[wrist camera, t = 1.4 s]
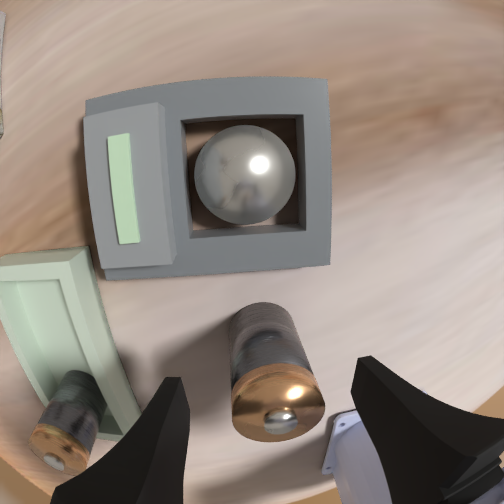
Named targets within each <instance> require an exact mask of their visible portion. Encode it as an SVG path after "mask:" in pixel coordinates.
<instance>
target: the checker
mask: <svg viewBox="0 0 504 504" xmlns="http://www.w3.org/2000/svg"><path fill="white" fill-rule="evenodd" d="M269 118H296V138H297V164H298V209H299V223H298V224H280V225H264V226H248V227H233V228H219V229H206V230H193V223H192V213H191V202H190V190H189V177H188V163H187V147H186V129H185V124H187V123H197V122H208V121H222V120H239V119H269ZM83 123H84V147H85V161H86V173H87V183H88V191H89V200H90V207H91V214H92V221H93V227H94V233H95V238H96V244H97V249H98V254H99V259H100V264H101V268H102V269H104V272H105V276H106V280H125V279H143V278H160V277H177V276H192V275H208V274H222V273H236V272H250V271H263V270H276V269H288V268H300V267H312V266H324V265H330V253H331V219H332V167H331V133H330V113H329V97H328V83H327V79H319V78H304V77H231V78H215V79H202V80H192V81H183V82H175V83H168V84H161V85H155V86H149V87H143V88H138V89H132V90H127V91H122V92H118V93H113V94H109V95H105V96H101V97H97V98H93V99H89V100H86V117H83Z"/></svg>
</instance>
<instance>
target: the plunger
mask: <svg viewBox="0 0 504 504" xmlns="http://www.w3.org/2000/svg"><path fill="white" fill-rule="evenodd" d="M194 180H195V186H196V190H197V193H198V195H199V197H200V199H201V201H202V202H203V204H204V205H205V206H206V208H207V209H208V210H209V211H210V212H212V213H213V214H214V215H216V216H217V217H219V218H220V219H222V220H225V221H227V222H230V223H234V224H241V225H248V224H255V223H259V222H262V221H264V220H267V219H269V218H270V217H272V216H274V215H275V214H276V213H278V212H279V211H280V210H281V209H282V208H283V207H284V205H285V204H286V203H287V201H288V200H289V198H290V196H291V194H292V191H293V188H294V184H295V165H294V161H293V158H292V155H291V153H290V151H289V149H288V148H287V146H286V145H285V144H284V142H283V141H282V140H281V139H280V138H279V137H277V136H276V135H275V134H273V133H272V132H270V131H268V130H266V129H264V128H261V127H257V126H252V125H239V126H233V127H229V128H227V129H224V130H222V131H220V132H219V133H217V134H216V135H214V136H213V137H212V138H211V139H210V140H209V141H207V143H206V144H205V145H204V146H203V148H202V150H201V151H200V153H199V155H198V158H197V161H196V164H195V171H194Z"/></svg>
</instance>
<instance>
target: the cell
mask: <svg viewBox="0 0 504 504" xmlns="http://www.w3.org/2000/svg"><path fill="white" fill-rule="evenodd" d="M229 341H230V369H231V405H232V422H233V426H234V427H235V429H236V430H237V431H238V432H239V433H240V434H241V435H243V436H244V437H246V438H249V439H251V440H255V441H260V442H280V441H285V440H290V439H293V438H296V437H298V436H301V435H303V434H305V433H306V432H308V431H309V430H311V429H312V428H313V427H315V426H316V425H317V424H318V423H319V421H320V420H321V419H322V417H323V415H324V412H325V402H324V400H323V397H322V394H321V392H320V389H319V386H318V384H317V381H316V379H315V377H314V375H313V372H312V370H311V367H310V364H309V362H308V359H307V357H306V354H305V351H304V349H303V346H302V344H301V341H300V338H299V336H298V333H297V331H296V328H295V326H294V323H293V320H292V318H291V316H290V314H289V313H288V312H287V311H286V310H285V309H284V308H282V307H281V306H279V305H276V304H273V303H266V302H261V303H255V304H251V305H249V306H246V307H244V308H243V309H241V310H240V311H239V312H238V313H237V314H236V315H235V316H234V318H233V319H232V321H231V323H230V327H229Z"/></svg>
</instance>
